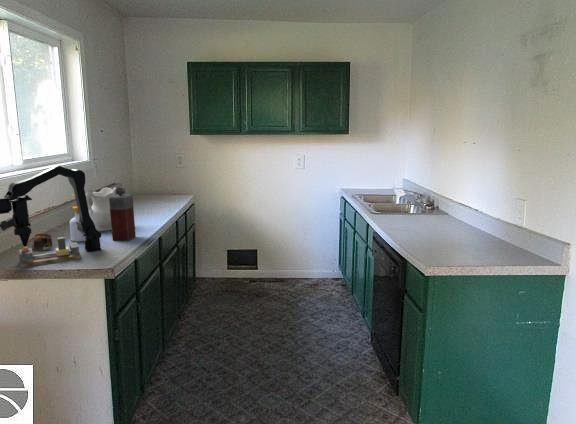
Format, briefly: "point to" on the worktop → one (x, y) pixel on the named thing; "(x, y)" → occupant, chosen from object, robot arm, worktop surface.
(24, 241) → the robot arm
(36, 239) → the pottery mug
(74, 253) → the rail board
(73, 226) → the soap bottle
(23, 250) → the orange ball
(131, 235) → the brown syrup bottle
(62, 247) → the carriage
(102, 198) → the ceramic pitcher
